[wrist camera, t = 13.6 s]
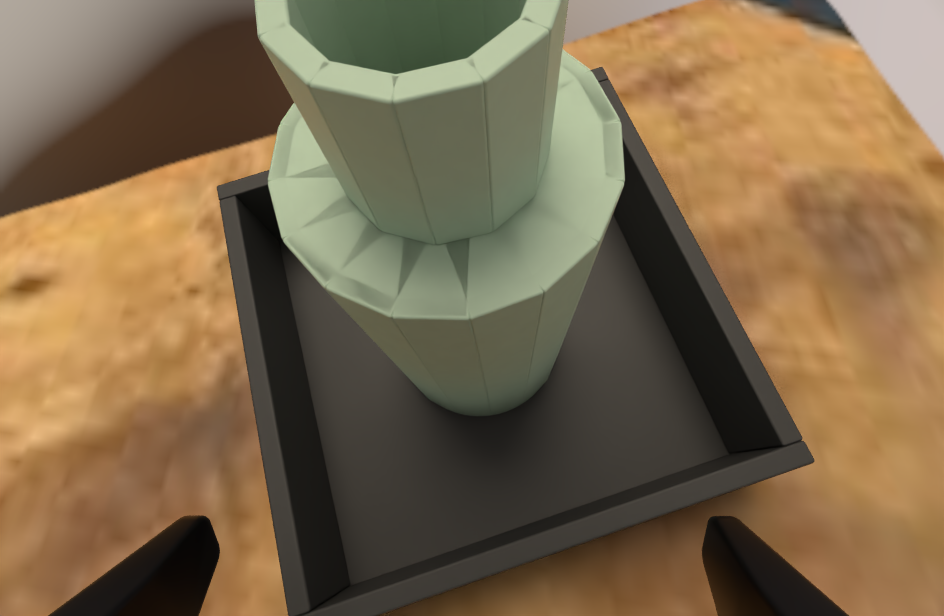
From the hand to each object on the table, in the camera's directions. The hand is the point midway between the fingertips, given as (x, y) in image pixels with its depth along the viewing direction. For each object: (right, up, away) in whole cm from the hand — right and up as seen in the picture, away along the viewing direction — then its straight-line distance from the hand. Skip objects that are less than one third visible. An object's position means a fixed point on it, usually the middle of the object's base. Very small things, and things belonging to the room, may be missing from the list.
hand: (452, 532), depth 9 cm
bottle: (+1, +3, +9) cm, 10 cm away
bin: (+1, +3, +10) cm, 10 cm away
